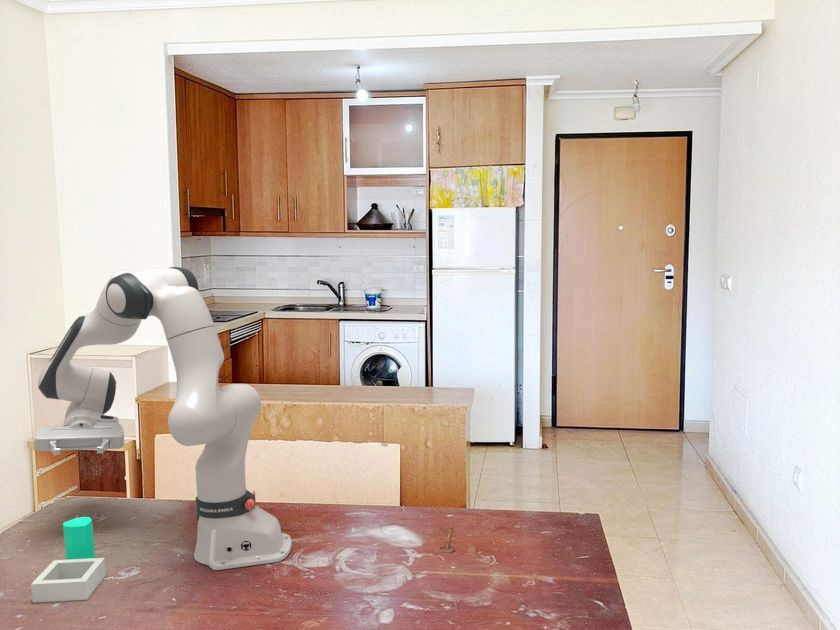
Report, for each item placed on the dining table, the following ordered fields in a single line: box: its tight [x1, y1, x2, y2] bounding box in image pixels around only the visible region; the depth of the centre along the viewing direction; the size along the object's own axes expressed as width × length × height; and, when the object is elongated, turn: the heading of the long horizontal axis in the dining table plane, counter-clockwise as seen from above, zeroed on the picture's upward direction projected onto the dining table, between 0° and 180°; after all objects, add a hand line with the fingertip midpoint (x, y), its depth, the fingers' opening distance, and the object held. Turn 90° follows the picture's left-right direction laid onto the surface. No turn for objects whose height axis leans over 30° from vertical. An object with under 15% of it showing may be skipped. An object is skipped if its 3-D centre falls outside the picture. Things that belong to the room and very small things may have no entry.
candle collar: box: [30, 557, 107, 603], centre depth 158 cm, size 11×11×4 cm
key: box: [438, 524, 456, 554], centre depth 178 cm, size 6×1×15 cm
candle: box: [62, 516, 96, 560], centre depth 169 cm, size 6×6×12 cm
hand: (78, 451), depth 176 cm, fingers open, 8 cm apart
